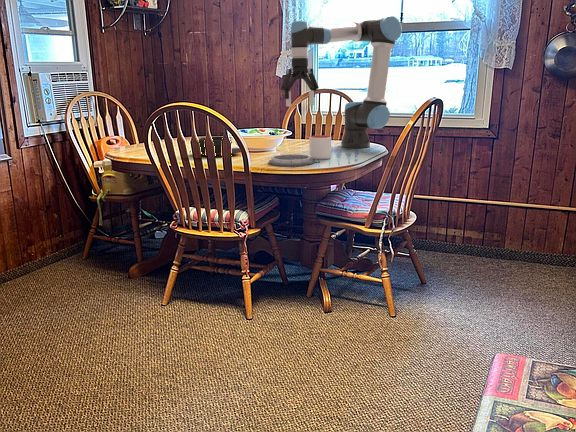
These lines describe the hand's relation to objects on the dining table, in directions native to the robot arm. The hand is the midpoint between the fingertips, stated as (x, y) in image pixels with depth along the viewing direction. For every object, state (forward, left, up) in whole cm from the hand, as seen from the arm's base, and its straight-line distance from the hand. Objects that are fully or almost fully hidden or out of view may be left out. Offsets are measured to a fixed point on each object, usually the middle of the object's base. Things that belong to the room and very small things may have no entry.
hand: (300, 105), depth 252 cm
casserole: (+38, -20, -24) cm, 49 cm away
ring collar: (+9, +15, -24) cm, 29 cm away
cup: (-7, +7, -24) cm, 26 cm away
